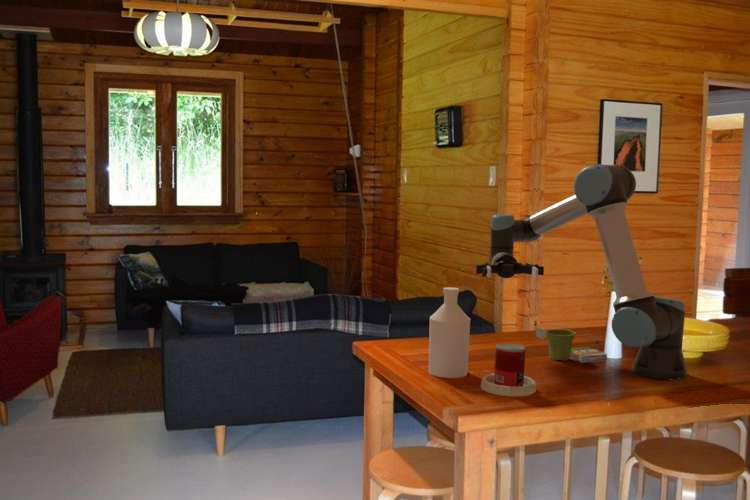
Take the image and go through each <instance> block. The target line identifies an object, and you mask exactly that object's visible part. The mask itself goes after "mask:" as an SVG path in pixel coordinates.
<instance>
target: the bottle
mask: <svg viewBox="0 0 750 500" xmlns="http://www.w3.org/2000/svg"><path fill="white" fill-rule="evenodd" d="M442 293H443V304H442V305H440V307H439V308H438V309H437V310H436V311H435V312H434V313H433V314H432V315H430V317H429V328H428V329H429V330H428V331H429V333H428V334H429V336H428V338H429V339H428V340H429V341H428V373H429V374H430V375H432V376H433V377H438V378H447V379H458V378H464V377H466V376H467V375H468V370H469V369H468V367H469V366H468V365H469V350H470V334H471V331H470V330H471V318H470V317H469V316H468V315H467V314H466V313H465V312H464V311H463V309H462V307H460V306H459V304H458V298H459V293H460V288H459V287H449V286H448V287H443V290H442Z"/></svg>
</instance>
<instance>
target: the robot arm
mask: <svg viewBox="0 0 750 500" xmlns="http://www.w3.org/2000/svg"><path fill="white" fill-rule="evenodd" d="M636 188H637V180H636V177H635V175H634V173H633V172H632V171H631V170H630V169H628V168H627V167H626V166H623V165H619V164H618V165H617V164H601V163H596V164H591V165H587V166H585V167H584V168H582V169H581V170H580V171H579V173H578V174H577V176H576V177H575V179H574V183H573V191H574V194H573V195H570V196H568V197H566V198H564V199H562V200H560V201H558V202H556V203H554V204H552V205H550V206H547V207H546V208H543V209H541V210H539V211H537V212H535V213H533V214H531V215H528V216H526V217H525V218H523V219H515V217H514V216H515V215H512V214H493V215H492V216H491V225H490V251H489V253H490V254H489V257H488V262H487V261H486V262H484V263H481V264H477V265H476V268H475V269H476V270H475V271H476V273H475V274H477V275H482V277H488V278H491V277H492V274H496V275H497V276H498V277H500V278H502V279H510V278H512V277H513V276H515V275H521V274H524V275H530V276H532V277H533V278H534V279H538V278H539V277H538V276H544V272H545V267H544V266H541V265H539V264H530V263H527V262H526V263H524V264H522V263H521V262H518V261H517V259H516V257H514V248H515V247H514V243H524V242H526V243H528V242H534V241H537V240H538V239H540V238H541V237H542V235H544V234H547V233H548V232H552V231H554V230H556V229H558V228H560V227H563V226H564V225H566V224H569V223H571V222H574V221H576V220H578V219H580V218H582V217H585V216H586V215H588V216H590V217H591V218H593V219H594V221H595V225H596V229H597V232H598V235H599V239H600V243H601V246H602V250H603V254H604V257H605V261H606V264H607V267H608V271H609V275H610V278H611V281H612V286H613V289H614V293H615V297H616V298H615V300H614V302H613V305H612V306H613V310H614V314H613V317H612V319H611V330H612V332H613V334H614V336H615V338H616V339H617V340H618V341H619V342H620V343H622V344H624V345H625V347H626V346H627V347H630V348H639V350H638V352H637V355H636V356H635V359H634V361H633V366H632V372H634V374H637V375H639V376H642V377H647V378H649V377H650V379H655V380H656V379H657V380H664V379H678V380H680V379H679V378H683V379H685V378H684V377H687V376H686V375H687V374H688V372H687V371H688V368H687V365H686V361H685V356H684V354H683V343H684V342H683V341H684V339H683V338H684V327H685V317H686V316H685V315H686V311H685V310H686V305H685V303H684V301H682V300H680V299H675V298H674V299H673V298H670V297H669V298H668V297H660V296H655V295H654V293H652V292H650V291H648V289H647V287H646V283H645V279H644V276H643V272H642V269H641V266H640V262H639V258H638V254H637V251H636V247H635V245H634V242H633V241H634V240H633V238H632V237H633V236H632V234H631V229H630V227H629V223H628V220H627V216H626V213H625V210H626V208H627V207H628V201H629V200H630V199H631V198H632V197H633V195H634V194H635V191H636V190H637V189H636Z"/></svg>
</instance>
